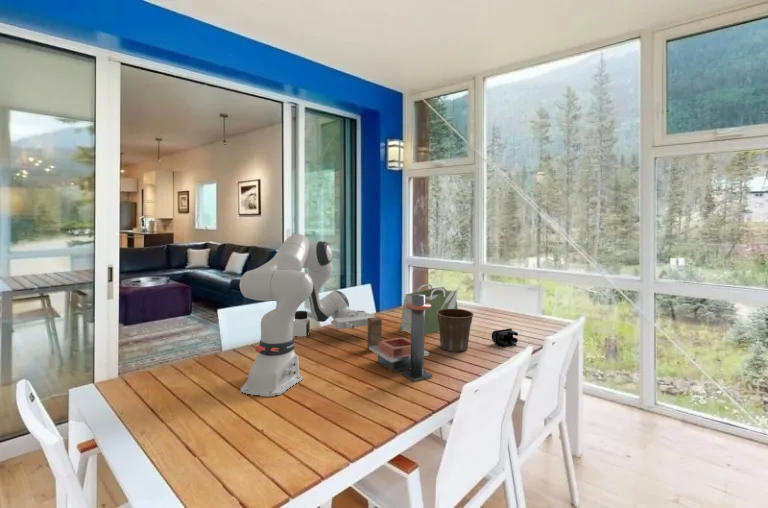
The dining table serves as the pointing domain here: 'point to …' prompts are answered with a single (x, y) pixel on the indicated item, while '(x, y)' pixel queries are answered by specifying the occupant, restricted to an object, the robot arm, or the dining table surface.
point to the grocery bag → (438, 301)
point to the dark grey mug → (504, 337)
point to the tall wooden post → (374, 331)
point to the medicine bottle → (301, 324)
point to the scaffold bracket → (407, 345)
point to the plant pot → (454, 329)
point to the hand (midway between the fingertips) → (361, 325)
